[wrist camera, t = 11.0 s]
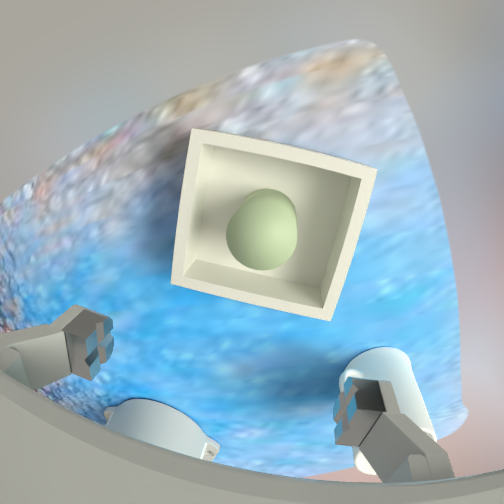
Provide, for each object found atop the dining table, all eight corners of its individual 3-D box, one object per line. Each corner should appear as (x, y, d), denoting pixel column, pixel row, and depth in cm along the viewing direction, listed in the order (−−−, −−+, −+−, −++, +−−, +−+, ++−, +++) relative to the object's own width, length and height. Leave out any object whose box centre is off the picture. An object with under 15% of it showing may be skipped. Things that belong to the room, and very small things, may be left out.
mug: (309, 358, 34) (311, 444, 23) (372, 314, 31) (400, 395, 20) (365, 408, 36) (378, 484, 25) (421, 372, 33) (450, 446, 22)
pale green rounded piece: (302, 195, 27) (304, 211, 22) (289, 249, 29) (287, 277, 23) (245, 183, 27) (232, 195, 22) (235, 237, 29) (220, 261, 24)
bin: (326, 294, 31) (330, 321, 26) (187, 262, 32) (170, 283, 27) (363, 164, 26) (377, 169, 22) (208, 129, 27) (191, 128, 22)
